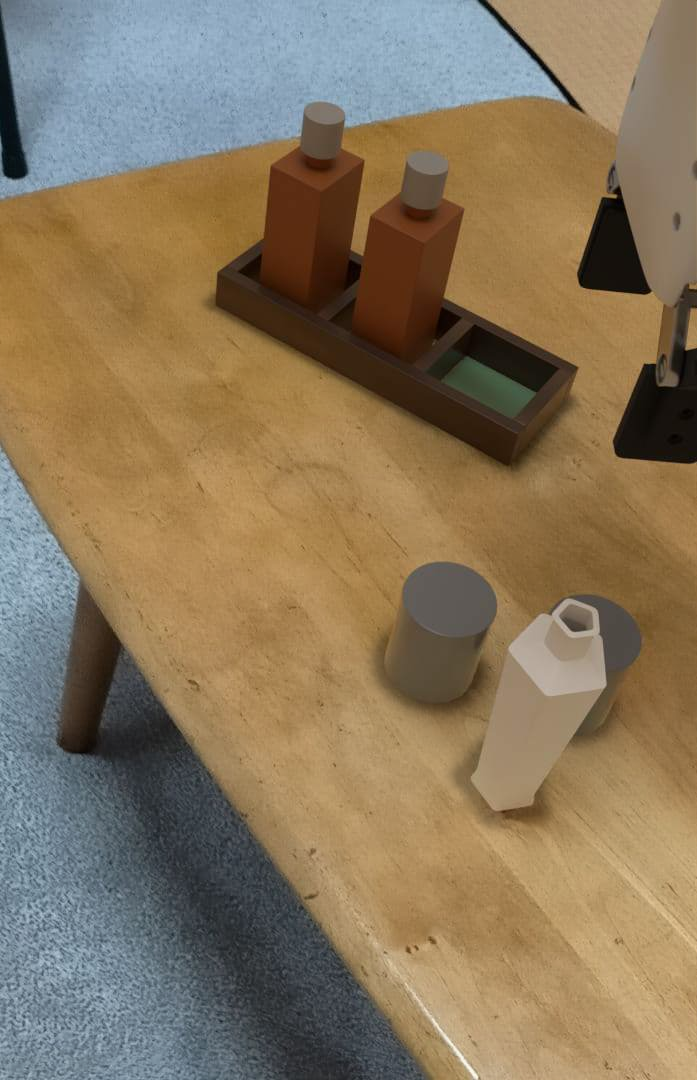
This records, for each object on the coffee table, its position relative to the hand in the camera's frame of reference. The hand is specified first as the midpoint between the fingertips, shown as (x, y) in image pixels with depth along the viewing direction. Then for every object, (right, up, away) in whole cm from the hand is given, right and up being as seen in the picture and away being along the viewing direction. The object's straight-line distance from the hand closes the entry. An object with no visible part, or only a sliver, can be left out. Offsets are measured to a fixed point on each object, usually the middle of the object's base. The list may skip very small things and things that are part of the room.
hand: (632, 365), depth 48 cm
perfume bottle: (-3, -20, +17) cm, 27 cm away
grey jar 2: (+1, -16, +21) cm, 26 cm away
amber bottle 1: (-14, +10, +40) cm, 44 cm away
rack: (-8, +6, +38) cm, 40 cm away
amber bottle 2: (-8, +6, +38) cm, 39 cm away
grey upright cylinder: (-7, -14, +21) cm, 26 cm away
